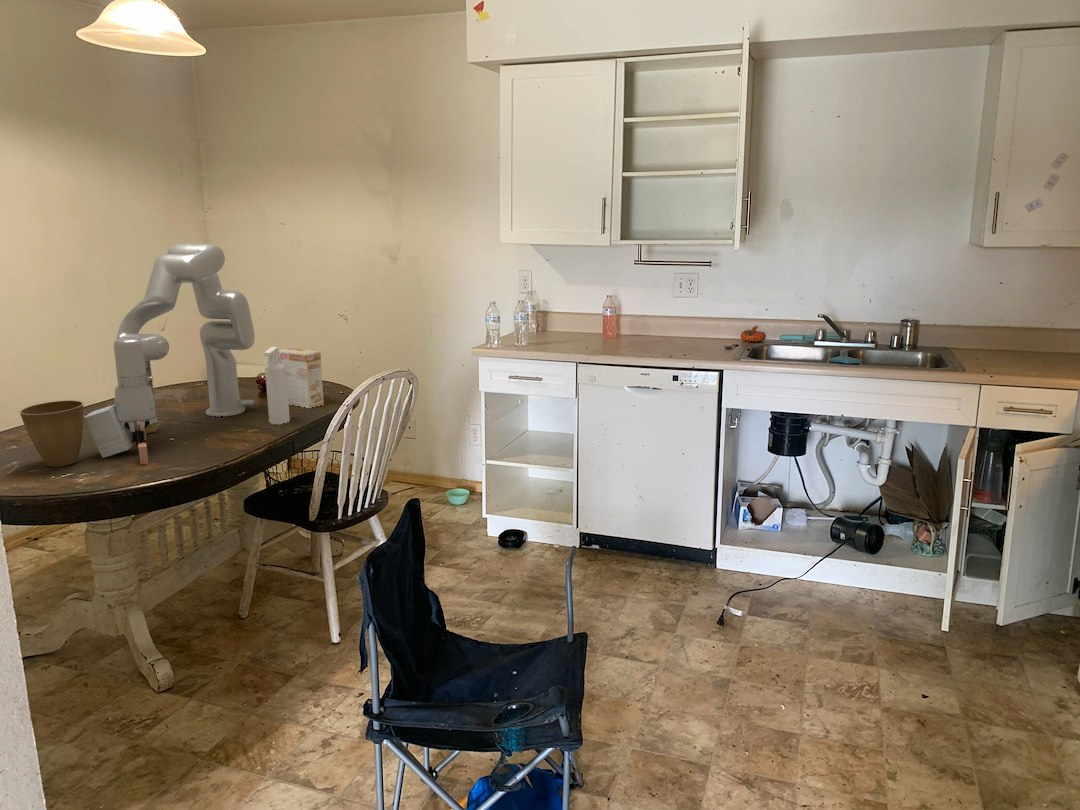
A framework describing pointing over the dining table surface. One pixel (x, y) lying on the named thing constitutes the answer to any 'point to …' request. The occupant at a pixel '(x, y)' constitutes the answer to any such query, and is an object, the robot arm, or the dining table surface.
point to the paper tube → (153, 426)
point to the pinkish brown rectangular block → (143, 449)
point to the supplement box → (108, 431)
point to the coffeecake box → (303, 377)
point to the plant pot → (55, 430)
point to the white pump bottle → (276, 388)
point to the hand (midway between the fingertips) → (139, 443)
